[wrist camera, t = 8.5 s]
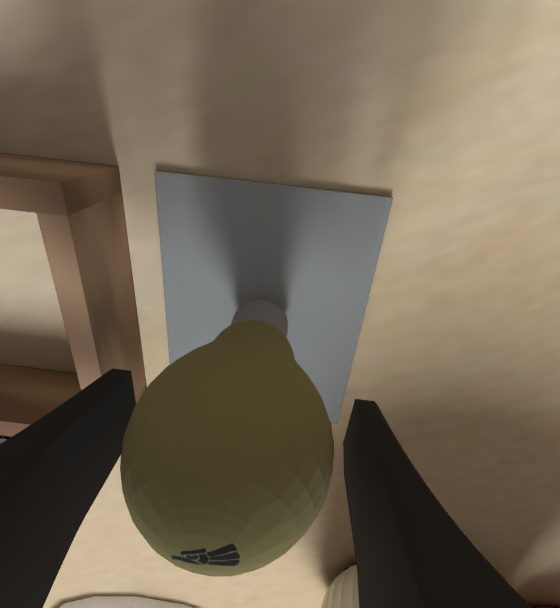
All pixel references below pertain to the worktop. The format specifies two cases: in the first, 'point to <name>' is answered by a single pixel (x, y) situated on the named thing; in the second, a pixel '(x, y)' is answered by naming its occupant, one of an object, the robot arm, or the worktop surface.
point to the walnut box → (74, 280)
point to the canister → (343, 590)
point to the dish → (121, 603)
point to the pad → (270, 265)
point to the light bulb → (229, 450)
